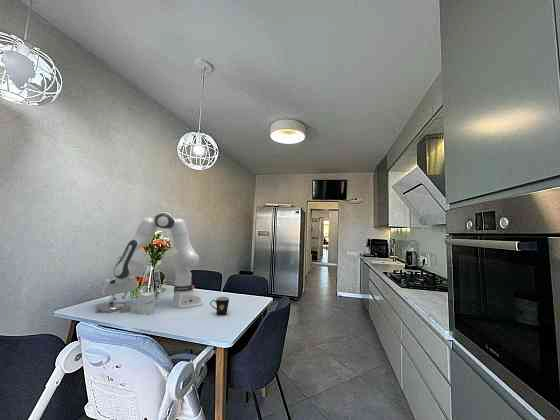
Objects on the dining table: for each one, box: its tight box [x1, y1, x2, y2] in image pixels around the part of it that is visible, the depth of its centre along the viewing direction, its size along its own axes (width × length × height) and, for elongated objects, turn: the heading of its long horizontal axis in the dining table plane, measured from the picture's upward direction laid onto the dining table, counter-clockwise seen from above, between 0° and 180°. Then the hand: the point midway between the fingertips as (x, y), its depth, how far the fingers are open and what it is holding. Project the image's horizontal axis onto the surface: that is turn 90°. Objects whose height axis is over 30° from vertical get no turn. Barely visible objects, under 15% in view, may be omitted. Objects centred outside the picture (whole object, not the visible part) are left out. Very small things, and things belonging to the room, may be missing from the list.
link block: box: [120, 305, 132, 314], centre depth 150 cm, size 5×4×5 cm
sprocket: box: [95, 297, 126, 314], centre depth 154 cm, size 15×17×5 cm
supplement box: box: [135, 291, 156, 316], centre depth 152 cm, size 7×7×13 cm
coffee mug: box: [209, 296, 230, 316], centre depth 159 cm, size 12×9×10 cm
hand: (119, 299), depth 163 cm, fingers open, 4 cm apart
